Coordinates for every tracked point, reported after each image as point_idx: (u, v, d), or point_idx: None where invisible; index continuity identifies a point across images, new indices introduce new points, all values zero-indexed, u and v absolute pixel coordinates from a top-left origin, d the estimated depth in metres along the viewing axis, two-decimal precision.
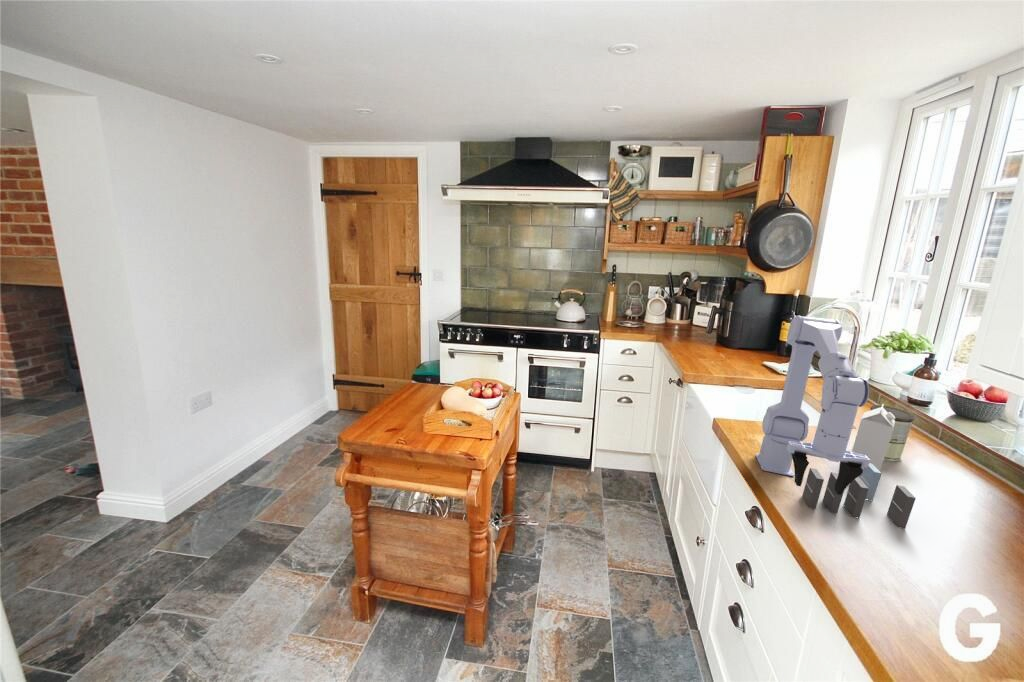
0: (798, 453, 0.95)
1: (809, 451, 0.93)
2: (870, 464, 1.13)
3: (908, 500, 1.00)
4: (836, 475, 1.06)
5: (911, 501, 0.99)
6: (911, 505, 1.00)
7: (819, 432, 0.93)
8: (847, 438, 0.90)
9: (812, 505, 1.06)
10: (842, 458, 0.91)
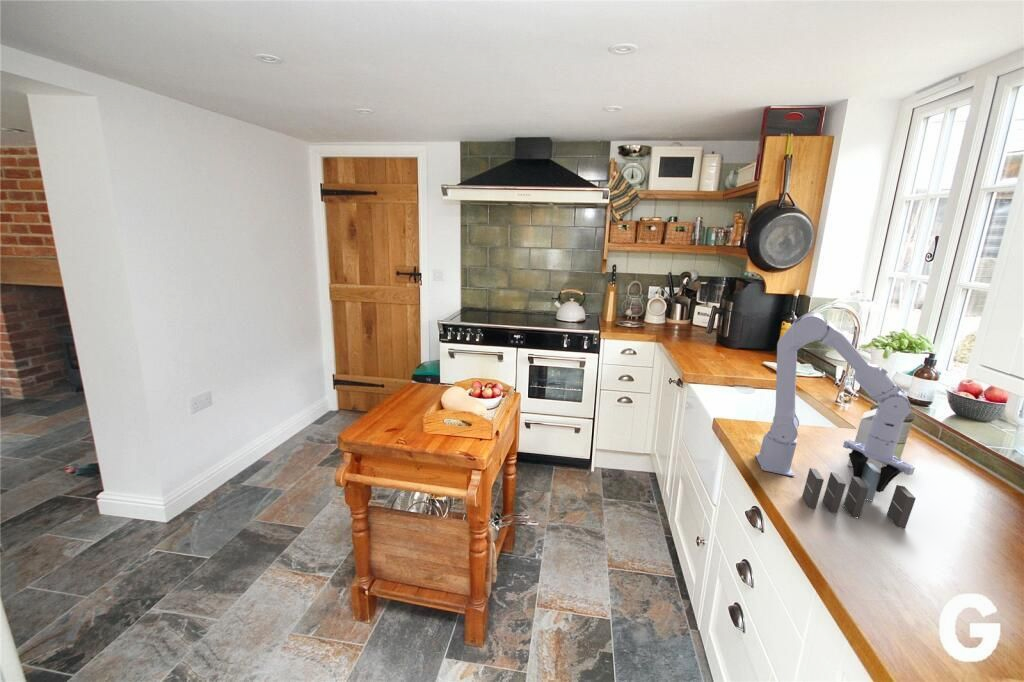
0: None
1: (856, 448, 1.13)
2: (870, 464, 1.13)
3: (908, 500, 1.00)
4: (836, 475, 1.06)
5: (911, 501, 0.99)
6: (911, 505, 1.00)
7: (868, 434, 1.11)
8: (887, 442, 1.07)
9: (812, 505, 1.06)
10: (880, 459, 1.08)
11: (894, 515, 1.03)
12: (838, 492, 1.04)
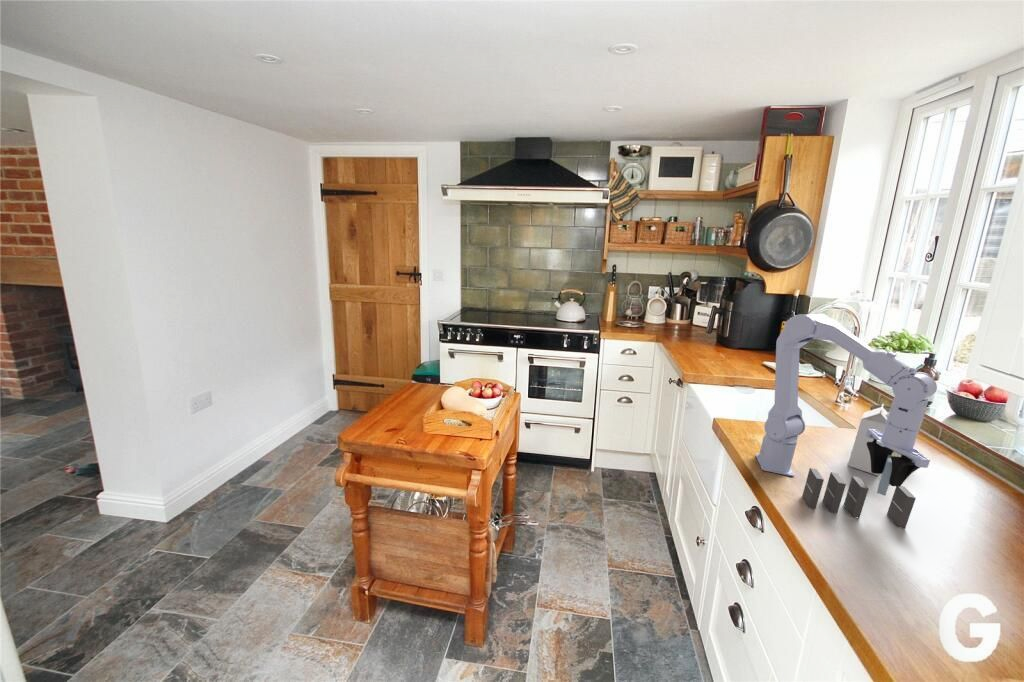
0: None
1: (874, 436, 1.04)
2: None
3: (908, 500, 1.00)
4: (836, 475, 1.06)
5: (911, 501, 0.99)
6: (911, 505, 1.00)
7: None
8: (900, 429, 0.97)
9: (812, 505, 1.06)
10: (892, 447, 0.98)
11: (894, 515, 1.03)
12: (838, 492, 1.04)
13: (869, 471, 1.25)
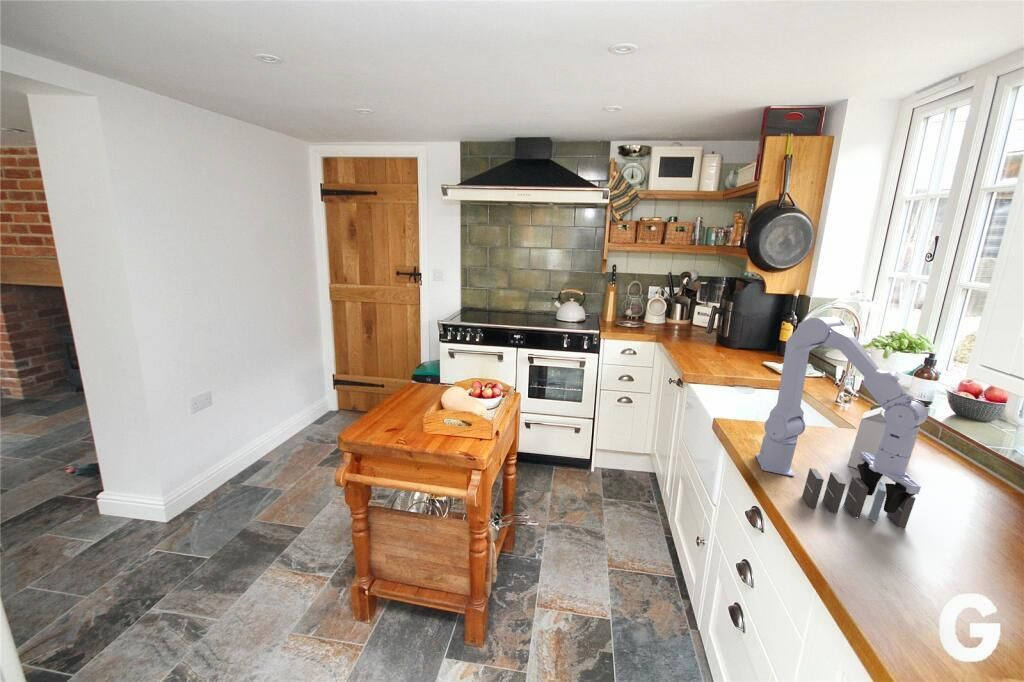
0: (865, 462, 1.07)
1: (867, 460, 1.05)
2: (883, 484, 1.04)
3: (908, 500, 1.00)
4: (836, 475, 1.06)
5: (911, 501, 0.99)
6: (911, 505, 1.00)
7: None
8: (892, 455, 0.99)
9: (812, 505, 1.06)
10: (884, 472, 1.00)
11: (894, 515, 1.03)
12: (838, 492, 1.04)
13: None
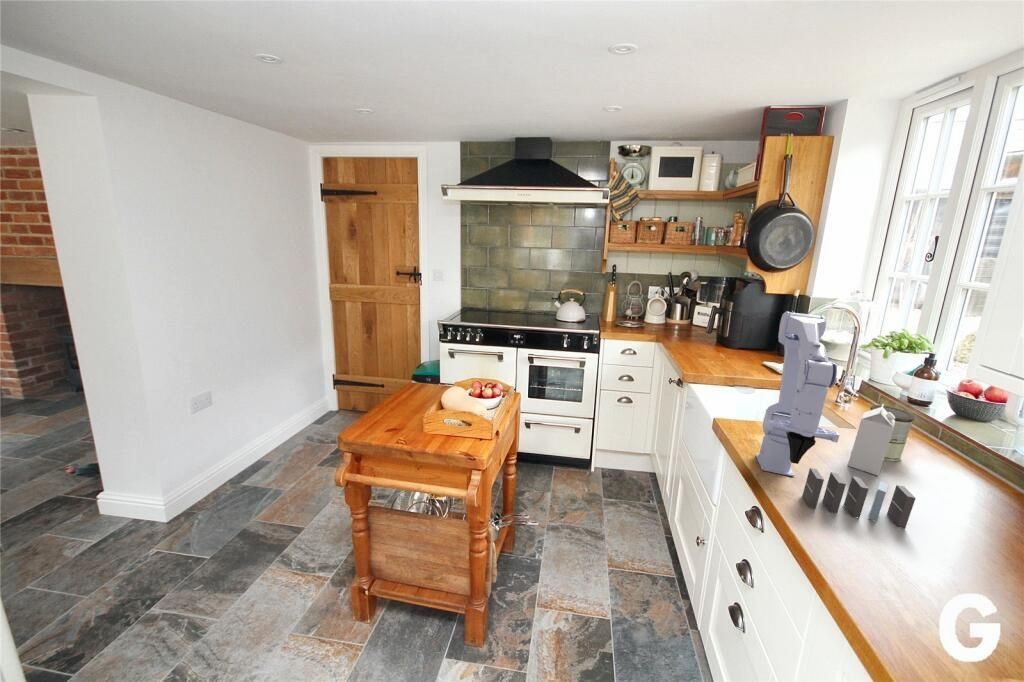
0: (776, 430, 1.06)
1: (786, 428, 1.05)
2: (883, 484, 1.04)
3: (908, 500, 1.00)
4: (836, 475, 1.06)
5: (911, 501, 0.99)
6: (911, 505, 1.00)
7: (794, 411, 1.04)
8: (819, 416, 1.02)
9: (812, 505, 1.06)
10: (814, 433, 1.02)
11: (894, 515, 1.03)
12: (838, 492, 1.04)
13: (869, 471, 1.25)
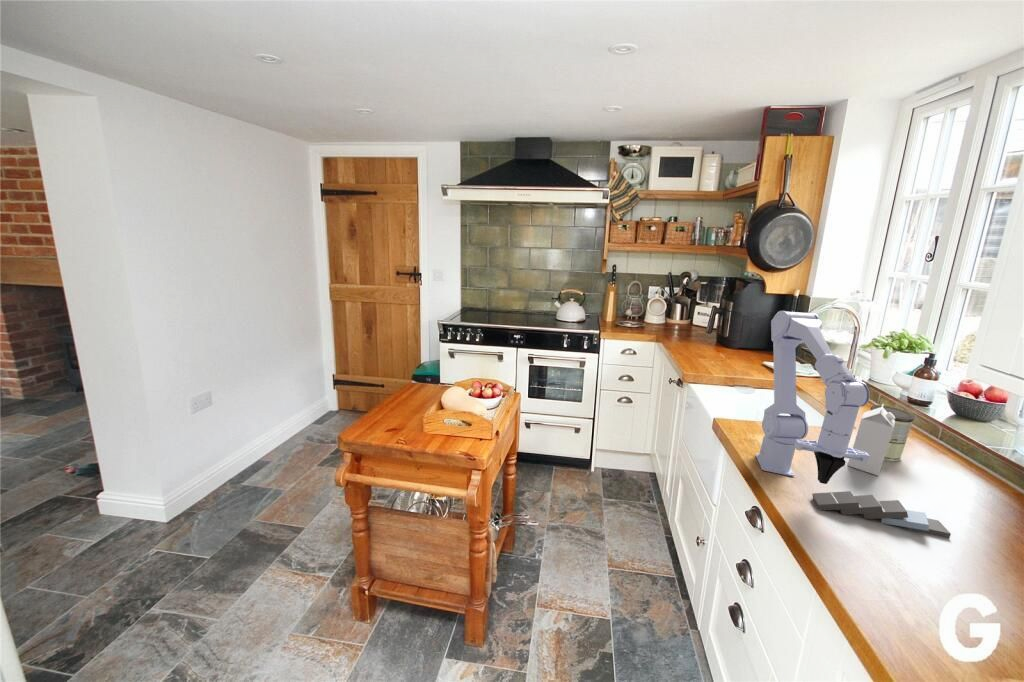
0: None
1: (815, 448, 1.04)
2: None
3: (944, 534, 0.99)
4: None
5: (944, 536, 0.99)
6: (937, 535, 0.99)
7: (824, 431, 1.03)
8: (849, 436, 1.01)
9: (822, 507, 1.05)
10: (844, 454, 1.01)
11: None
12: (868, 509, 1.02)
13: (869, 471, 1.25)
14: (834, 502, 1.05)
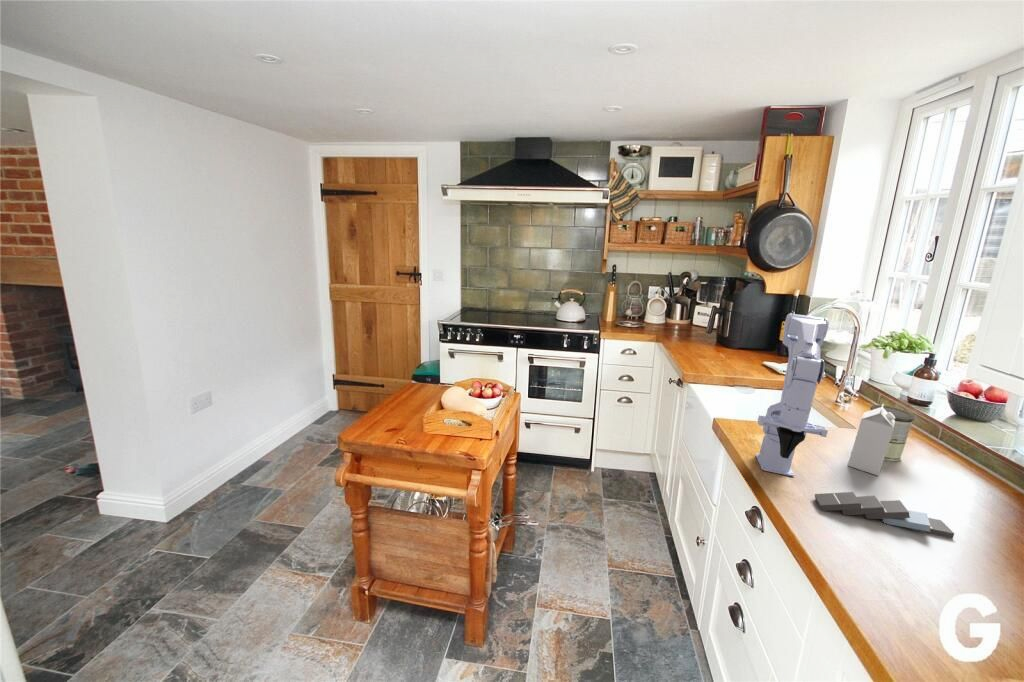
0: (767, 425, 1.09)
1: (776, 423, 1.07)
2: None
3: (948, 534, 0.99)
4: None
5: (947, 536, 0.99)
6: (941, 535, 0.99)
7: (784, 406, 1.06)
8: (808, 411, 1.04)
9: (824, 507, 1.05)
10: (804, 429, 1.05)
11: None
12: (870, 509, 1.02)
13: (869, 471, 1.25)
14: (836, 503, 1.04)
